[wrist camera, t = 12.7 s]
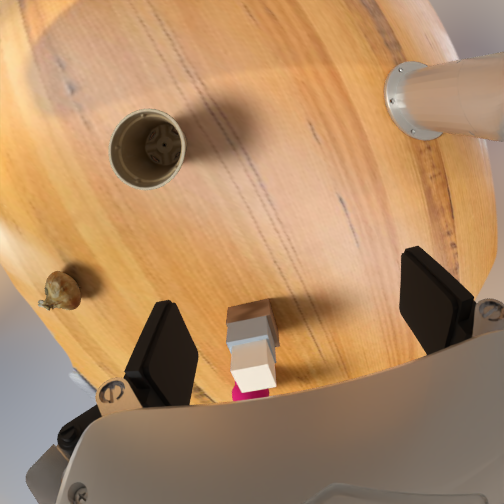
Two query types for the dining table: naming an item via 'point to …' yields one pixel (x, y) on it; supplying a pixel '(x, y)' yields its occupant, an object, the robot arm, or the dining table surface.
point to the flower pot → (146, 149)
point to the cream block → (253, 366)
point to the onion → (61, 292)
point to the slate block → (250, 333)
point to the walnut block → (254, 315)
